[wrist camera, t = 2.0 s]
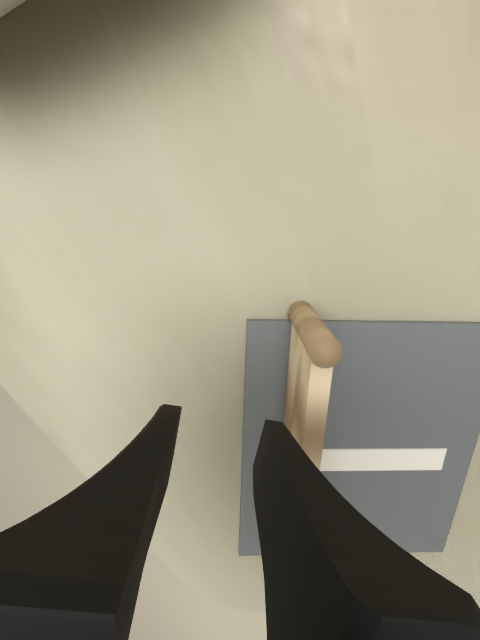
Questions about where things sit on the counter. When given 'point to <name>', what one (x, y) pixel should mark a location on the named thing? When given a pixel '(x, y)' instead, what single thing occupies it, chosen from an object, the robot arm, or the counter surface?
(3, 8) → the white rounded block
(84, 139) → the counter surface
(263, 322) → the mat
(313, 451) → the fence panel
